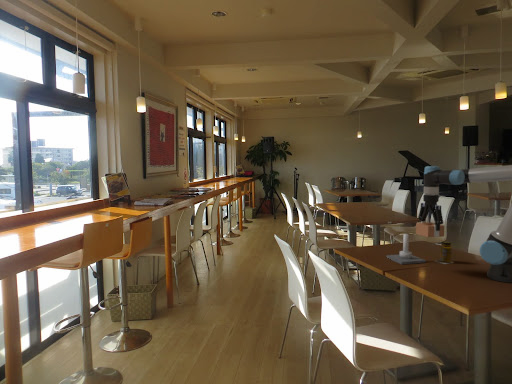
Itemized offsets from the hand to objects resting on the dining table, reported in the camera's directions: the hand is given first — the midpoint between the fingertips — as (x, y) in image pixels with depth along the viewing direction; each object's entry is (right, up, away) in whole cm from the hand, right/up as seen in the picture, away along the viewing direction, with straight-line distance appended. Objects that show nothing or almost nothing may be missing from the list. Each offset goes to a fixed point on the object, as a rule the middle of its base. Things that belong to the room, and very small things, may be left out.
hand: (429, 234), depth 206 cm
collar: (0, 0, 0) cm, 0 cm away
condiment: (+17, -19, +18) cm, 31 cm away
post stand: (-4, -18, +22) cm, 29 cm away
